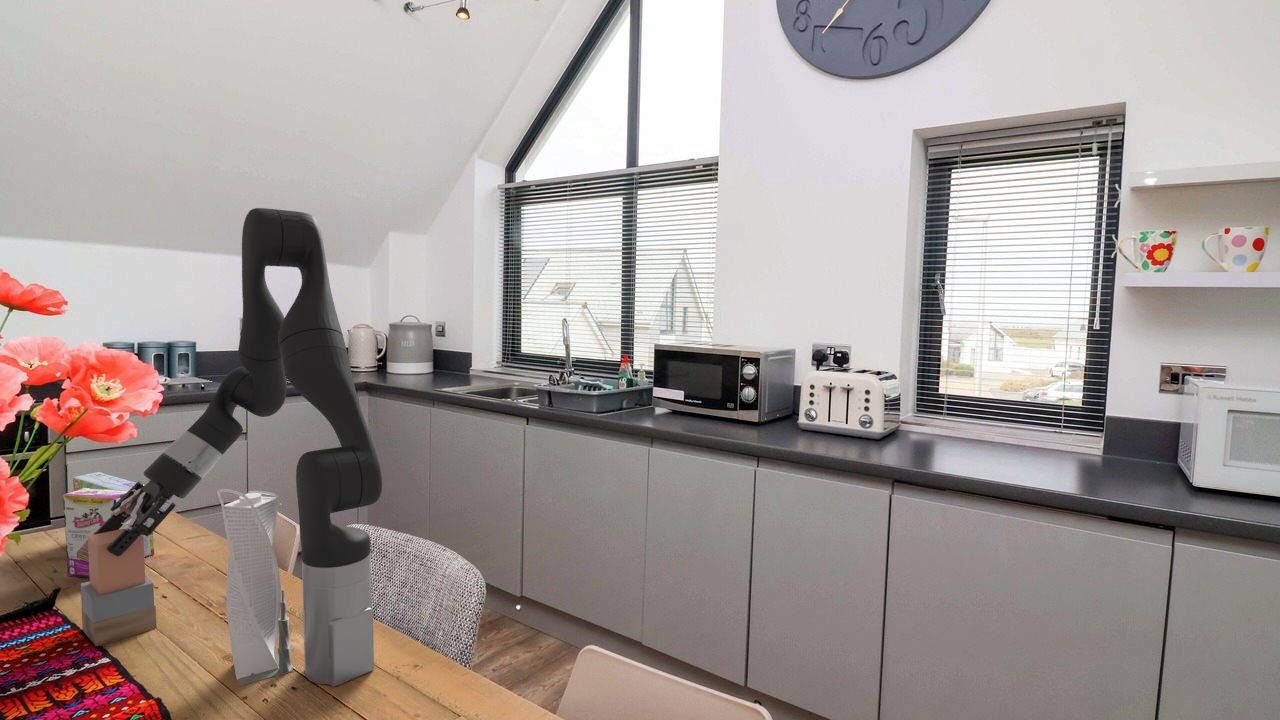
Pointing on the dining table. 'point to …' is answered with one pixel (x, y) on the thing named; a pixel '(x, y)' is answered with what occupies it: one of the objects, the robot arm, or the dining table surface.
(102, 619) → the gray block
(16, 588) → the dining table surface
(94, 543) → the salmon orange block
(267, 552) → the twisted tower model
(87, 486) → the snack box
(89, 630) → the walnut block
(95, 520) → the candy bar box
